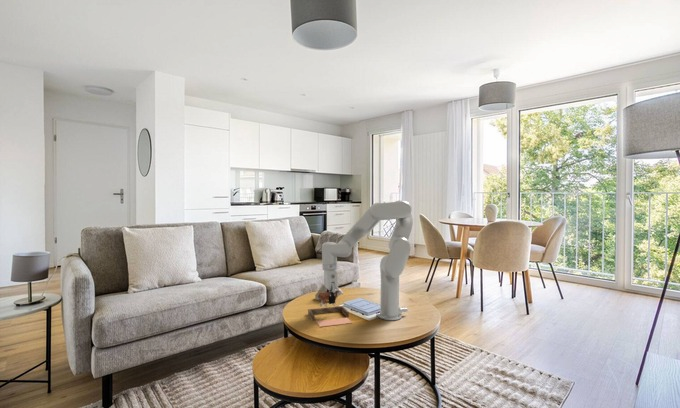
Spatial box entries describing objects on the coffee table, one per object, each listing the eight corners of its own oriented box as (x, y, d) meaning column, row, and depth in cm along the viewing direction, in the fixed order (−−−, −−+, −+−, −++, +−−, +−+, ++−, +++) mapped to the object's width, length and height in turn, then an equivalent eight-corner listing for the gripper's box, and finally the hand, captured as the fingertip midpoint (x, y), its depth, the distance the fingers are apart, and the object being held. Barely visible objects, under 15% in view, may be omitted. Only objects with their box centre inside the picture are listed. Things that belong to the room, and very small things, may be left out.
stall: (342, 310, 174) (342, 305, 174) (348, 316, 164) (348, 312, 164) (308, 314, 168) (308, 309, 168) (312, 321, 158) (312, 316, 158)
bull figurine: (344, 304, 165) (344, 289, 165) (319, 308, 160) (319, 292, 160) (341, 302, 169) (340, 286, 169) (316, 305, 164) (316, 290, 164)
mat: (347, 318, 162) (347, 317, 162) (351, 323, 156) (351, 322, 156) (316, 321, 157) (316, 321, 157) (319, 327, 151) (319, 326, 151)
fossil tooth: (316, 299, 196) (341, 298, 194) (314, 302, 190) (339, 301, 188) (315, 280, 197) (339, 279, 195) (313, 282, 191) (337, 281, 188)
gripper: (341, 269, 158) (342, 306, 158) (332, 262, 174) (332, 296, 174) (327, 270, 155) (328, 308, 156) (318, 264, 171) (319, 298, 172)
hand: (330, 301), depth 165 cm, fingers closed on bull figurine, 4 cm apart
